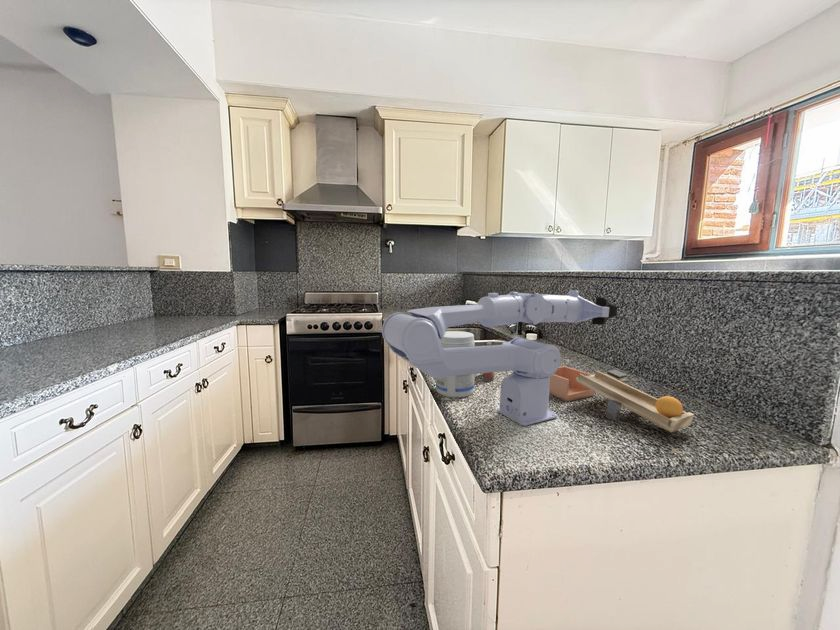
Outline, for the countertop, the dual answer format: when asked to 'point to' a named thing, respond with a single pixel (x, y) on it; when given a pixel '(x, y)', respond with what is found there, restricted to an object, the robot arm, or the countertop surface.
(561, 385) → the tray
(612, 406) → the pivot stand
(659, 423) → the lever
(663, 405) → the ball
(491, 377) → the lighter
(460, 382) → the supplement tub
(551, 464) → the countertop surface
